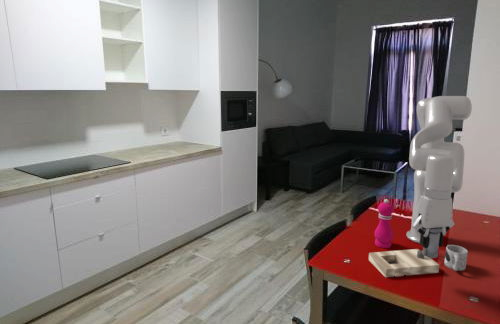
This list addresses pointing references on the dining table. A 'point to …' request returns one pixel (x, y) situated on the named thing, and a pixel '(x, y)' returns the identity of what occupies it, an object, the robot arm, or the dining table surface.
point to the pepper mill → (384, 225)
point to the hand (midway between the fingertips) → (430, 245)
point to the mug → (456, 257)
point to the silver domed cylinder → (432, 243)
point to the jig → (403, 263)
